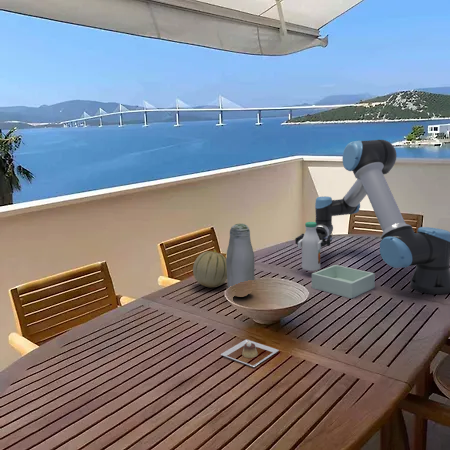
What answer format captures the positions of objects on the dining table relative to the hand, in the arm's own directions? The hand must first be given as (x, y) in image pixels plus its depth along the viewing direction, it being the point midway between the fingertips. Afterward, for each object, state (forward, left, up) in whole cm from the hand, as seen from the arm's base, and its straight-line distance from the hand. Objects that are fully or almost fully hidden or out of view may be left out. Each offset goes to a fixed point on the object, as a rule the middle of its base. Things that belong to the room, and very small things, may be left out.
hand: (308, 246), depth 196 cm
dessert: (-29, +65, -15) cm, 73 cm away
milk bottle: (+2, -4, -11) cm, 12 cm away
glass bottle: (+6, +34, -14) cm, 37 cm away
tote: (-17, +1, -14) cm, 22 cm away
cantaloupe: (+23, +34, -14) cm, 43 cm away
